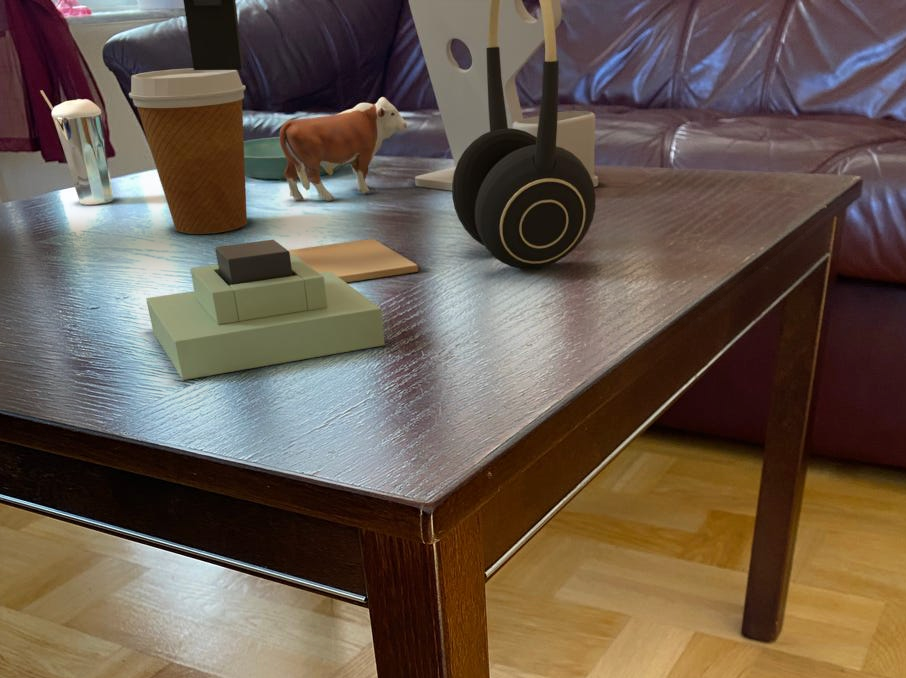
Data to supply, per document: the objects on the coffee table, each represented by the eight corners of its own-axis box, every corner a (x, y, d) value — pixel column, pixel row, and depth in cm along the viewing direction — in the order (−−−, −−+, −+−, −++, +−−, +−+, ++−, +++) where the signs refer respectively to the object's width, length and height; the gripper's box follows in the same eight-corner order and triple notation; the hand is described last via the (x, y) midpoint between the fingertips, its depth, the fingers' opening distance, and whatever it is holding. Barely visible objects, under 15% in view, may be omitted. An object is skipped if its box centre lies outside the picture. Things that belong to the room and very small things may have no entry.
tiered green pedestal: (153, 333, 64) (139, 268, 62) (334, 304, 68) (327, 242, 66) (182, 380, 57) (167, 308, 55) (385, 345, 61) (379, 276, 58)
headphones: (492, 290, 70) (481, -65, 59) (444, 243, 82) (429, -58, 71) (610, 277, 71) (622, -70, 60) (547, 233, 83) (547, -63, 72)
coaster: (251, 261, 79) (250, 255, 79) (373, 245, 82) (372, 238, 82) (285, 291, 71) (284, 284, 71) (418, 271, 75) (417, 264, 74)
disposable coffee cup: (166, 244, 85) (133, 81, 79) (149, 223, 93) (118, 73, 86) (277, 229, 88) (254, 72, 82) (252, 210, 96) (229, 64, 89)
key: (219, 277, 61) (214, 246, 60) (278, 268, 63) (273, 238, 62) (233, 290, 59) (228, 259, 58) (293, 282, 60) (289, 251, 59)
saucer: (248, 189, 105) (244, 161, 104) (208, 170, 116) (203, 144, 115) (378, 172, 111) (376, 145, 109) (328, 155, 122) (325, 131, 120)
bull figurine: (416, 188, 102) (410, 96, 98) (295, 207, 96) (283, 111, 92) (394, 182, 105) (388, 93, 101) (276, 201, 99) (263, 107, 95)
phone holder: (606, 184, 100) (613, -35, 90) (543, 202, 94) (543, -31, 84) (473, 169, 110) (466, -30, 100) (408, 185, 104) (393, -26, 94)
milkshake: (78, 197, 105) (52, 87, 99) (127, 196, 104) (104, 86, 99) (57, 206, 101) (29, 93, 96) (108, 206, 100) (82, 91, 95)
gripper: (214, -582, 39) (281, 97, 55) (233, -525, 48) (286, 39, 64) (9, -594, 38) (138, 99, 54) (70, -534, 48) (164, 40, 63)
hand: (218, 66), depth 59 cm, fingers closed
